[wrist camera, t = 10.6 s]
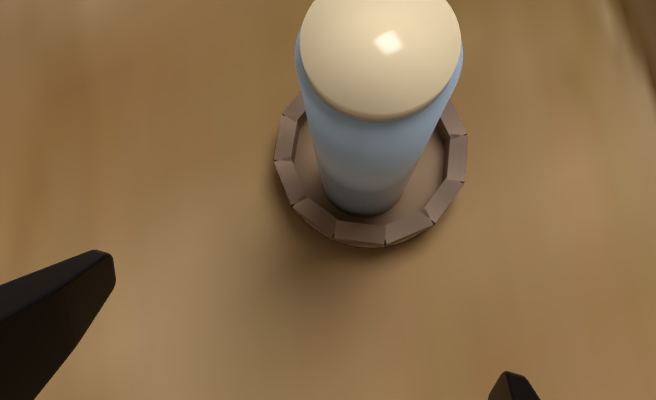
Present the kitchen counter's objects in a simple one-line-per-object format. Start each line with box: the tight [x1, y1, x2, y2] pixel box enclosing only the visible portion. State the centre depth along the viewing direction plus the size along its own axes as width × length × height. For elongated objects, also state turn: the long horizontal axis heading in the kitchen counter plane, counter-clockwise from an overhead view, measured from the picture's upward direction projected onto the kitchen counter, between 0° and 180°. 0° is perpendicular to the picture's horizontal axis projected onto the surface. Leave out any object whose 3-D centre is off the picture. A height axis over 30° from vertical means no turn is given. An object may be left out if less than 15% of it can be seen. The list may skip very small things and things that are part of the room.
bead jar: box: [295, 0, 463, 218], centre depth 18 cm, size 5×5×13 cm
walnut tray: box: [274, 92, 468, 248], centre depth 24 cm, size 10×10×2 cm
